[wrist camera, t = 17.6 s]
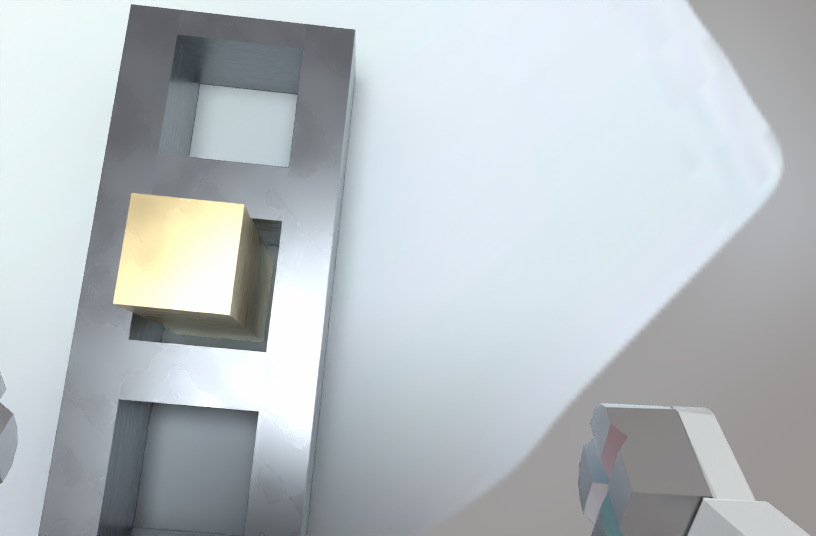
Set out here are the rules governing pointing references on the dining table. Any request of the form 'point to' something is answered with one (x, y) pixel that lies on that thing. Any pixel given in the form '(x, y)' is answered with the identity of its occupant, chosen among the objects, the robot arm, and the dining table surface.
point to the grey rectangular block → (277, 225)
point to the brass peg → (195, 268)
